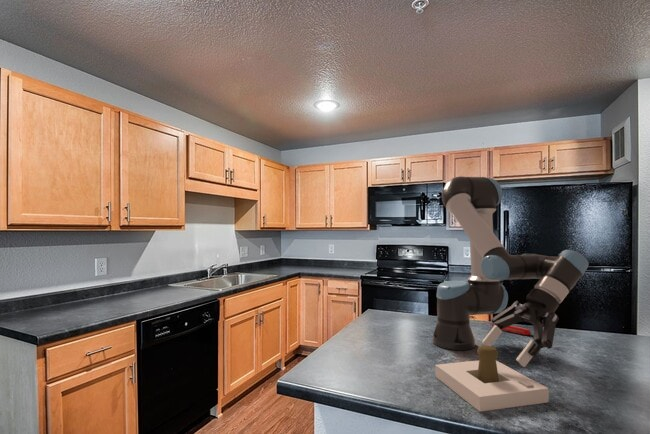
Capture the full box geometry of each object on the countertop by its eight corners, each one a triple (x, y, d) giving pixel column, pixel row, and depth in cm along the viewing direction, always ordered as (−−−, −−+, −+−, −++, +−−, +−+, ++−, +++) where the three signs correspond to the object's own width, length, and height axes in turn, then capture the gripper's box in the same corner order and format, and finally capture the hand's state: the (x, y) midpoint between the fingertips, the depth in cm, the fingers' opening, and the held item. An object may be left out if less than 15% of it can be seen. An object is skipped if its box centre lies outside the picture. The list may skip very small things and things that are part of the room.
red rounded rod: (533, 335, 142) (532, 328, 142) (530, 337, 140) (530, 330, 140) (492, 327, 154) (492, 320, 154) (489, 329, 151) (489, 322, 151)
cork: (503, 393, 91) (502, 351, 91) (478, 390, 92) (478, 349, 93) (496, 382, 97) (496, 343, 97) (473, 381, 98) (473, 342, 99)
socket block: (435, 376, 102) (435, 363, 103) (493, 370, 107) (493, 357, 107) (479, 411, 83) (479, 394, 83) (548, 402, 87) (548, 386, 87)
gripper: (596, 316, 87) (547, 382, 83) (521, 295, 111) (481, 346, 108) (578, 296, 86) (528, 362, 82) (506, 280, 110) (465, 330, 107)
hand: (501, 353), depth 95 cm, fingers open, 13 cm apart
